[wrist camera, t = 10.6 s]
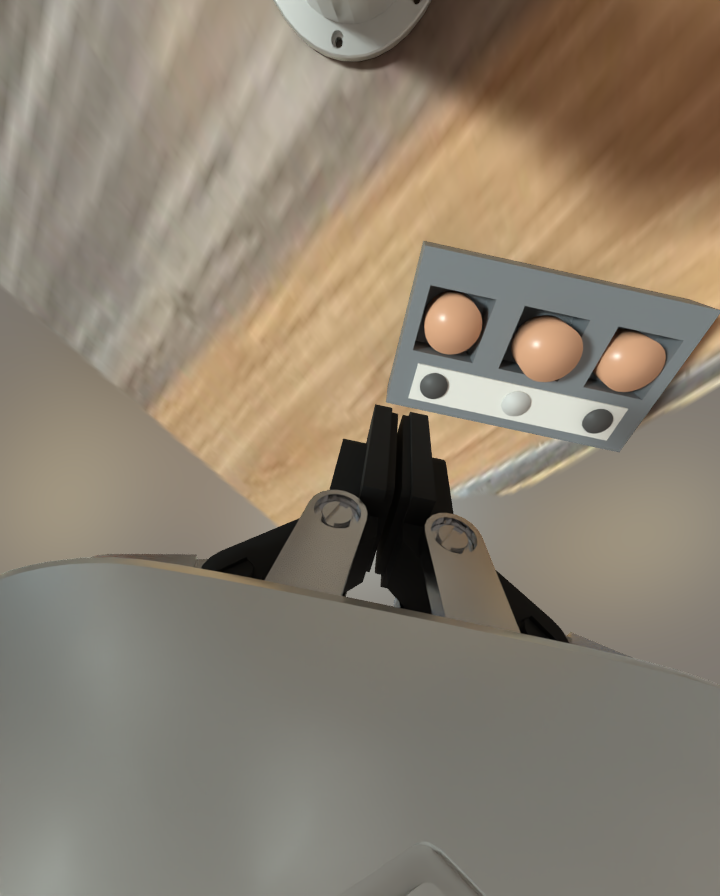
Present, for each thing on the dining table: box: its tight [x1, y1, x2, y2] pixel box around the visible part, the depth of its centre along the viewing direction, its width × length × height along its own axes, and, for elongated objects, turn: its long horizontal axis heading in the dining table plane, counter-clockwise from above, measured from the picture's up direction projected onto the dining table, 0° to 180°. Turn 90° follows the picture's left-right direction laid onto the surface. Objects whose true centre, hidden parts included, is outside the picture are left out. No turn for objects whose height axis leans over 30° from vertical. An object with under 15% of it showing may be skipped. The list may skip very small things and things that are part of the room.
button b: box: [511, 315, 583, 382], centre depth 31 cm, size 5×5×3 cm
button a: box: [423, 290, 482, 355], centre depth 33 cm, size 5×5×3 cm
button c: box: [592, 328, 666, 392], centre depth 33 cm, size 5×5×3 cm
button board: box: [386, 241, 720, 452], centre depth 34 cm, size 14×24×4 cm, turn 80°
